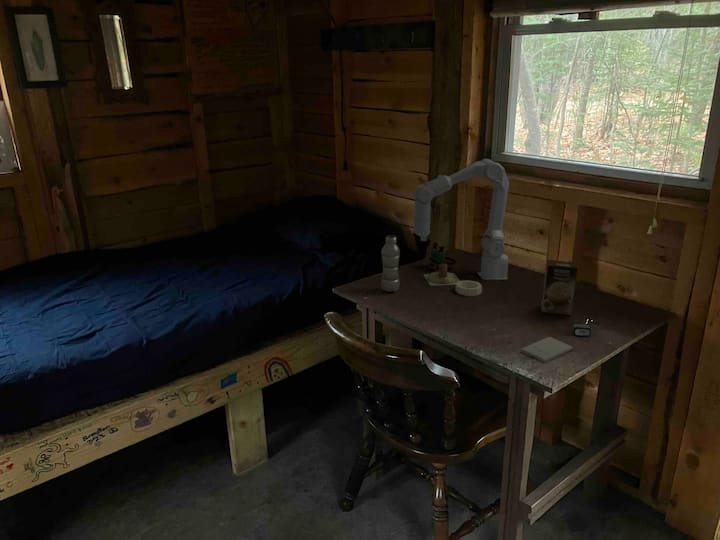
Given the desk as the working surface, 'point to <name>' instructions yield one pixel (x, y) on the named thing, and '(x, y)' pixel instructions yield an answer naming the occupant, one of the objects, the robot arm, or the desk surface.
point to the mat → (436, 283)
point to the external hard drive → (547, 349)
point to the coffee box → (559, 287)
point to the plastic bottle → (390, 265)
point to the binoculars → (439, 258)
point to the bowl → (468, 288)
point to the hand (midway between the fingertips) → (421, 254)
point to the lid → (442, 276)
